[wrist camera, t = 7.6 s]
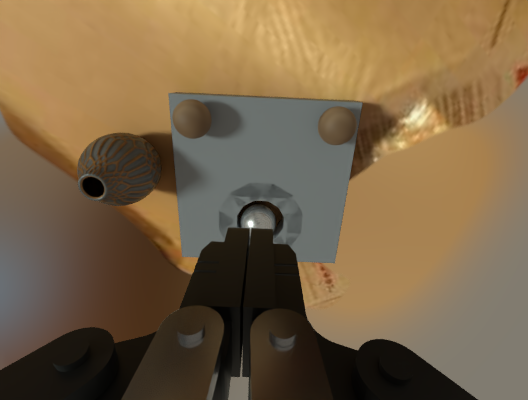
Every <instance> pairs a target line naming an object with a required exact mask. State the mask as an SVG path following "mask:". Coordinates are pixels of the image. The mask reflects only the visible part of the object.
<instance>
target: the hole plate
mask: <svg viewBox="0 0 528 400" xmlns="http://www.w3.org/2000/svg"><path fill="white" fill-rule="evenodd" d="M188 99H194V100H198V101H200V102H202V103H203V104H204V105H205V106H206V107H207V108H208V110H209V111H210V114H211V119H212V123H211V127H210V129H209V131H208V132H207V133H206V134H205V135H204V136H202V137H200V138H196V139H190V138H186V137H184V136H182V135H181V134H180V133H179V132H178V131H177V130H176V128H175V127H174V124H173V119H172V116H173V111H174V109H175V107H176V106H177V105H178V104H179V103H180V102H182V101H184V100H188ZM169 105H170V117H171V129H172V140H173V152H174V164H175V176H176V188H177V199H178V211H179V223H180V235H181V247H182V257H199V256H200V253H201V250H202V249H203V248H204V247H206V246H207V245H208V244H209V243H210V242H211V241H216V242H224V241H225V237H226V233H227V229H228V227H235V228H241V219H240V218H239V212H240V210H241V209H242V207H243V206H245V205H247V204H249V203H251V202H253V201H268V202H270V203H272V204H273V205H275V206H277V207H278V208H279V209H280V211H281V213H282V220H281V221H280V222H279V224H278V225H277V226H276V227H275V229H274V231H273V244H288V245H289V246H290V247H291V248H292V250H293V251H294V252H295V253H296V257H297V262H321V263H335V258H336V252H337V246H338V241H339V235H340V229H341V223H342V218H343V212H344V206H345V201H346V195H347V189H348V183H349V178H350V172H351V166H352V161H353V155H354V149H355V143H356V138H357V132H358V126H359V120H360V115H361V109H362V102H358V101H349V100H328V99H307V98H286V97H265V96H244V95H223V94H203V93H182V92H175V93H169ZM336 106H341V107H345V108H347V109H349V110H350V111H351V112H352V113H353V114H354V116H355V118H356V122H357V127H356V131H355V134H354V135H353V137H352V138H351V139H350V140H349V141H348V142H346V143H344V144H342V145H330V144H328V143H326V142H325V141H323V140H322V138H321V137H320V135H319V133H318V121H319V119H320V117H321V115H322V114H323V113H324V112H325V111H326V110H328V109H329V108H332V107H336Z"/></svg>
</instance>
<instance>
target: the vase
mask: <svg viewBox="0 0 528 400" xmlns="http://www.w3.org/2000/svg"><path fill="white" fill-rule="evenodd" d="M77 171H78V178H79V181H78V187H79V190H80V192H81V193H82V194H83V195H84V196H85V197H87V198H88V199H91V200H94V201H99V202H101V203H104V204H108V205H113V206H123V205H129V204H133V203H135V202H138V201H140V200H142V199H144V198H145V197H146V196H147V195H149V194H150V193H151V192H152V191H153V189H154V188H155V187H156V185H157V184H158V181H159V179H160V175H161V161H160V158H159V155H158V153H157V152H156V150H155V149H154V147H153V146H152V145H151V144H150V143H149V142H147V141H146V140H145V139H143V138H141V137H139V136H136V135H133V134H129V133H113V134H108V135H105V136H102V137H100V138H98V139H96V140H94V141H93V142H92V143H90V144H89V145H88V146H87V147H86V149H85V150H84V151H83V153H82V154H81V156H80V159H79V162H78V169H77Z"/></svg>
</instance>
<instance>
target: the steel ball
mask: <svg viewBox="0 0 528 400" xmlns="http://www.w3.org/2000/svg"><path fill="white" fill-rule="evenodd" d="M275 226H276V218H275V215H274V213H273V212H272V210H271V209H270V208H268V207H267V206H264V205H260V204H256V205H252V206H250V207H248V208H247V209H246V210H245V211H244V212H243V214H242V217H241V228H250V237H251V228H262V229H273V231H274V229H275Z"/></svg>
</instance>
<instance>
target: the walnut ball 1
mask: <svg viewBox="0 0 528 400" xmlns="http://www.w3.org/2000/svg"><path fill="white" fill-rule="evenodd" d="M172 119H173V124H174V127H175V128H176V130H177V131H178V132H179V133H180V134H181V135H182V136H184V137H186V138H190V139H196V138H200V137H202V136H204V135H205V134H206V133H207V132H208V131H209V129H210V127H211V123H212V119H211V114H210V111H209V110H208V108H207V107H206V106H205V105H204V104H203V103H202V102H200V101H198V100H194V99H188V100H184V101H182V102H180V103H179V104H178V105H177V106H176V107H175V109H174V111H173V116H172Z"/></svg>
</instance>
